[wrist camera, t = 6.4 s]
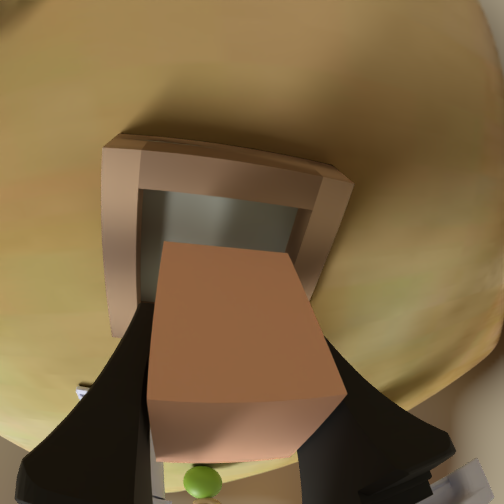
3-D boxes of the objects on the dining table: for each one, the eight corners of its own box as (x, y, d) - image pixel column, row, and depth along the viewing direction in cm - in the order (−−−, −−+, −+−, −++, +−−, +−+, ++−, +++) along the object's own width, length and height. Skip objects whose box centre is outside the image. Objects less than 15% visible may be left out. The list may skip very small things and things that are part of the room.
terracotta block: (260, 335, 14) (289, 456, 9) (160, 330, 13) (156, 461, 8) (288, 253, 11) (347, 394, 6) (163, 240, 10) (146, 399, 5)
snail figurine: (232, 464, 36) (244, 536, 26) (198, 472, 37) (207, 539, 27) (209, 457, 33) (220, 537, 23) (174, 465, 34) (181, 538, 25)
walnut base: (279, 316, 19) (289, 346, 17) (119, 305, 17) (112, 336, 15) (332, 165, 14) (354, 183, 12) (119, 133, 12) (102, 147, 10)
